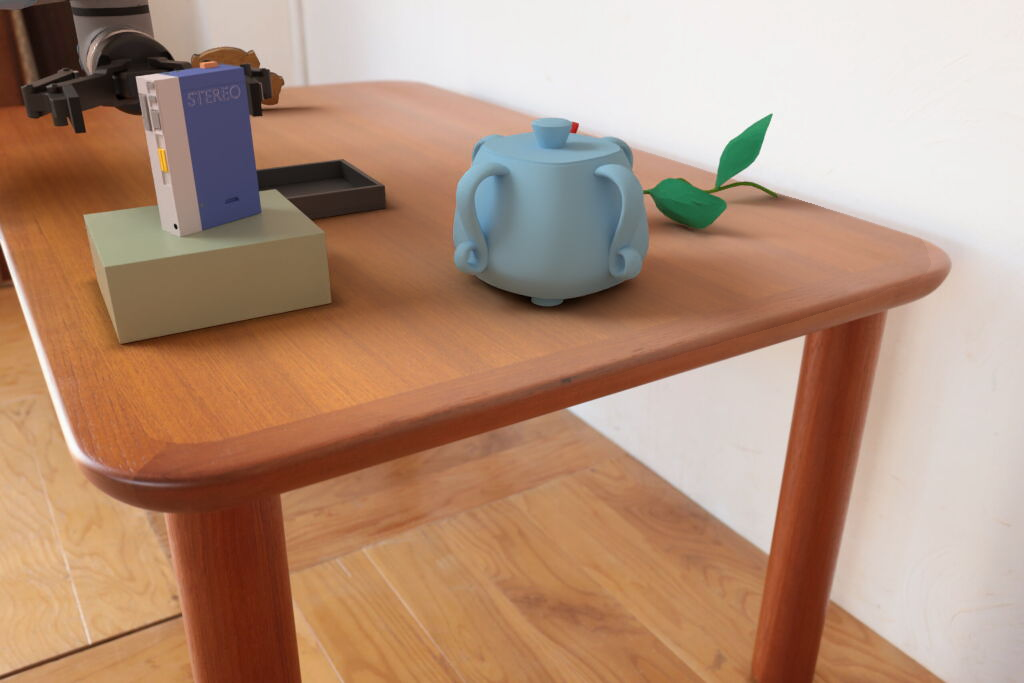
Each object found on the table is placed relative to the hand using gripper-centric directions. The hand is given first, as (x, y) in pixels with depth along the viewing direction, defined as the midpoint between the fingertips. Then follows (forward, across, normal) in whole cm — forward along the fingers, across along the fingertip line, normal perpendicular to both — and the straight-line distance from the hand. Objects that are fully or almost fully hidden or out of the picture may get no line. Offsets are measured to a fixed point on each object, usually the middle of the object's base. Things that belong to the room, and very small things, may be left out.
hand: (170, 107), depth 71 cm
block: (+4, 0, -14) cm, 15 cm away
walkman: (+4, -1, -9) cm, 10 cm away
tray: (-18, -15, -14) cm, 28 cm away
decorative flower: (+6, -46, -15) cm, 49 cm away
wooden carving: (-73, -20, -15) cm, 77 cm away
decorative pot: (+15, -26, -15) cm, 34 cm away
